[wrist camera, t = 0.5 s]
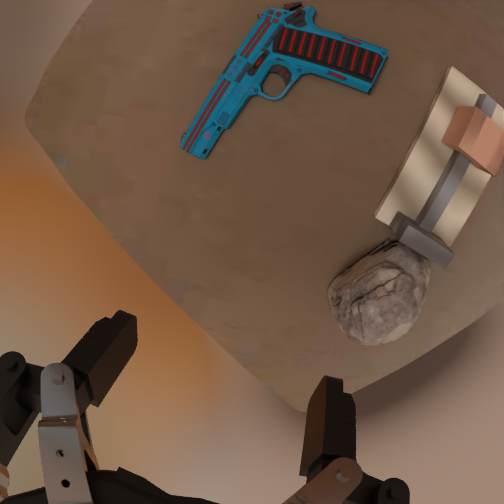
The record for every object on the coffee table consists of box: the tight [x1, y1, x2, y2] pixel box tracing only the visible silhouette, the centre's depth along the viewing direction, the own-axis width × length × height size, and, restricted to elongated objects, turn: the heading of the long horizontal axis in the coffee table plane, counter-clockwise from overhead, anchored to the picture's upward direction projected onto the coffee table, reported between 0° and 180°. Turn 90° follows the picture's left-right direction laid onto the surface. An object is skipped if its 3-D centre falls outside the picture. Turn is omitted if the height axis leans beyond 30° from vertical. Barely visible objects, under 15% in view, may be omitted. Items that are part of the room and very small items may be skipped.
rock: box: [328, 238, 433, 346], centre depth 34 cm, size 15×12×10 cm
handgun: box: [180, 2, 389, 159], centre depth 31 cm, size 23×3×15 cm
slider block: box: [442, 106, 504, 177], centre depth 25 cm, size 5×6×5 cm
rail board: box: [373, 66, 504, 268], centre depth 28 cm, size 21×11×6 cm, turn 157°
